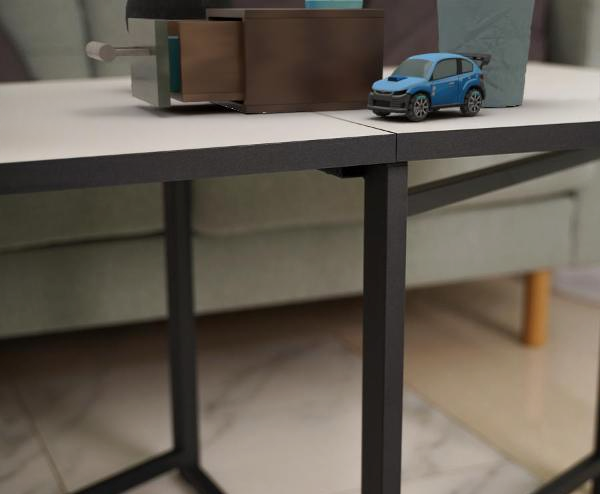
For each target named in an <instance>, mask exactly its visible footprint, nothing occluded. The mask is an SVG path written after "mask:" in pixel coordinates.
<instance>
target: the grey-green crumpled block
mask: <svg viewBox="0 0 600 494" xmlns="http://www.w3.org/2000/svg"><path fill="white" fill-rule="evenodd" d="M535 3H536V0H436V8H437V10H436V11H437V20H438V21H437V23H438V24H437V25H438V27H437V28H438V51H439V52H438V53H450V54H452V53H478V54H490V55H491V60H490V62H489V63H488V65H484V66H483V67H482V72H483V79H484V84H485V87H486V98H485V100H482V106H481V107H497V108H507V107H506V106H514V107H517V106H516V105H520V106H522V104H523V101H524V94H525V88H526V87H525V86H526V74H527V65H528V61H529V53H530V46H531V34H532V30H531V28H532V27H531V26H532V23H533V15H534V10H535ZM466 58H473V57H466ZM477 59H481V58H478V57H477ZM472 61H473V62H474V63H475V64H476V65H477V66H478V67H479V66H480V65H481V63H482V61H478V60H472Z"/></svg>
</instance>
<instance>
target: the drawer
mask: <svg viewBox="0 0 600 494" xmlns="http://www.w3.org/2000/svg"><path fill="white" fill-rule="evenodd" d="M128 30H129V34H128V44H129V45H125V46H123V45H122V46H121V45H120V46H114V45H112V44H109V43H104V42H99V41H95V40H93V41H90V42H88V43H87V44H86V46H85V53H86V55H87V56H88V57H89V58H91V59H95V60H98V61H101V62H103V63H111V62H113V61H115V59H116V57H129V62H130V64H129V65H130V82H131V83H130V85H131V97H133V98H135V99H138V100H140V101H142V102H144V103H147V104H150V105H152V106H154V107H157V108H171V107H172V100H175V101H177V102H181V103H203V102H204V103H207V102H209V101H235V100H244V79H243V24H242V20H161V19H145V18H128ZM168 36H178V47H179V73H180V92H170V71H169V47H168ZM171 99H172V100H171ZM209 103H210V102H209Z"/></svg>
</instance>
